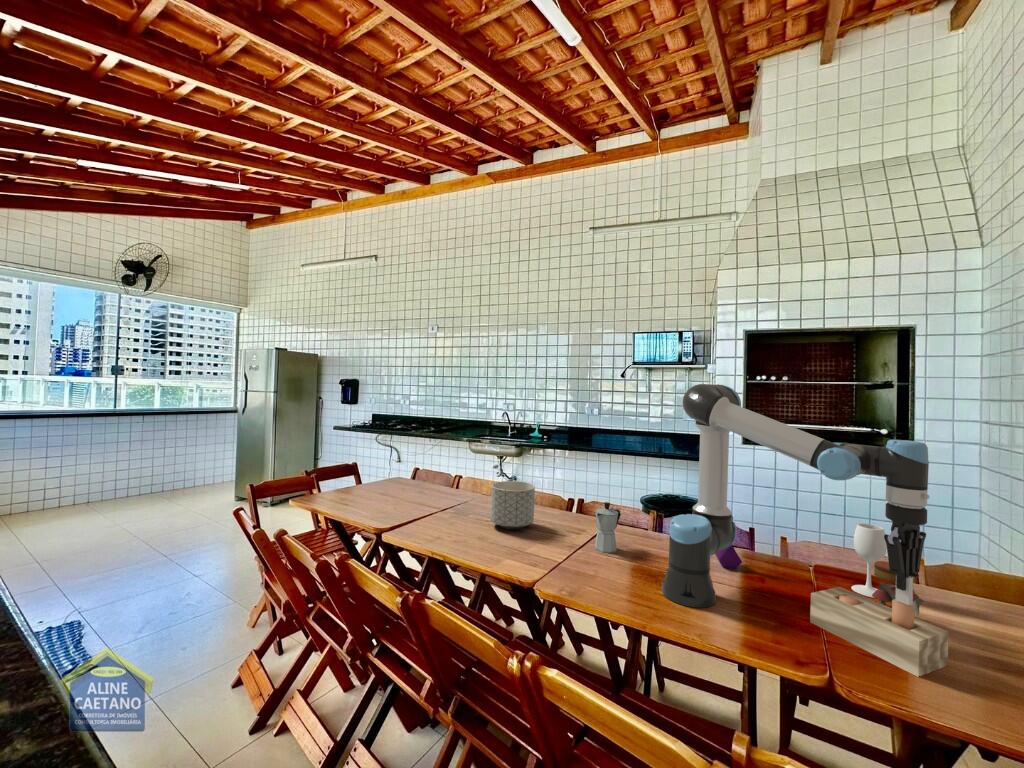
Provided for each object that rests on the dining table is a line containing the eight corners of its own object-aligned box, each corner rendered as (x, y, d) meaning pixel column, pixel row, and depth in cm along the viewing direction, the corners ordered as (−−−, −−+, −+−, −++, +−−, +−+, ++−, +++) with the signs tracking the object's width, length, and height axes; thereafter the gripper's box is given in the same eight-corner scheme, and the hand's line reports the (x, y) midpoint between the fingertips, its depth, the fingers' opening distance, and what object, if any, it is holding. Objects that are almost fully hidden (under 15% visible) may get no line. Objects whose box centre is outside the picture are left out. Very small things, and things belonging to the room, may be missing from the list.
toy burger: (908, 636, 115) (909, 579, 115) (854, 612, 126) (856, 560, 126) (932, 627, 119) (933, 572, 119) (878, 605, 131) (879, 555, 131)
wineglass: (878, 601, 134) (880, 532, 134) (845, 589, 142) (847, 524, 142) (891, 595, 138) (893, 528, 138) (859, 584, 146) (861, 521, 146)
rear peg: (851, 630, 114) (852, 603, 114) (835, 622, 118) (835, 596, 118) (860, 627, 116) (861, 601, 116) (844, 620, 120) (845, 594, 120)
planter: (507, 517, 207) (508, 479, 207) (541, 526, 196) (542, 485, 196) (481, 527, 192) (483, 485, 192) (517, 537, 180) (518, 493, 180)
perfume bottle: (742, 571, 153) (743, 519, 153) (719, 569, 154) (720, 518, 154) (735, 563, 160) (737, 513, 160) (713, 560, 162) (715, 512, 162)
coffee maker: (604, 556, 163) (606, 507, 163) (586, 549, 170) (587, 502, 170) (628, 547, 173) (629, 501, 173) (609, 541, 179) (611, 497, 179)
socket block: (918, 677, 98) (919, 641, 98) (810, 622, 120) (810, 593, 120) (947, 665, 103) (948, 631, 103) (838, 614, 125) (839, 586, 125)
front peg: (907, 638, 103) (908, 608, 103) (887, 629, 107) (888, 600, 107) (917, 635, 105) (918, 605, 105) (897, 626, 108) (898, 598, 108)
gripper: (909, 511, 100) (907, 614, 100) (940, 506, 105) (938, 605, 105) (871, 502, 107) (869, 599, 107) (903, 499, 112) (901, 591, 112)
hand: (903, 602), depth 106 cm, fingers closed
